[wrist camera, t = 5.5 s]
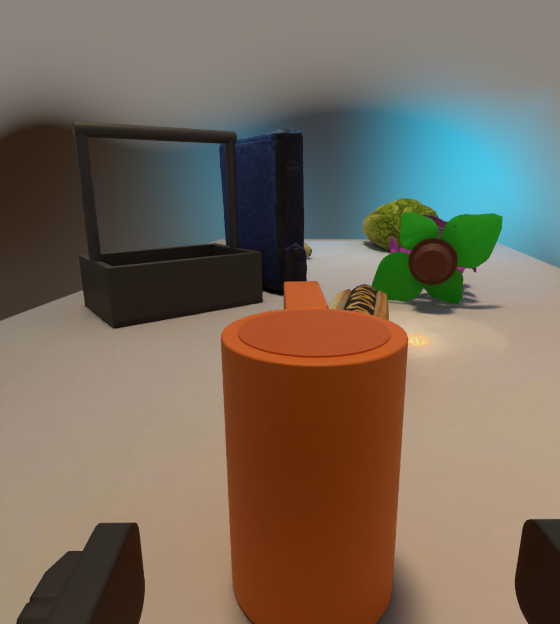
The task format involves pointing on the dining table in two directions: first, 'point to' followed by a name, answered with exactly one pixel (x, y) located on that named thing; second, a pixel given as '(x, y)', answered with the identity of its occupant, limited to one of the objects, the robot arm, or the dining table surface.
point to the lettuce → (391, 221)
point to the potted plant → (436, 255)
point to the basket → (163, 261)
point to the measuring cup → (313, 459)
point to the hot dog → (362, 301)
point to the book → (270, 203)
